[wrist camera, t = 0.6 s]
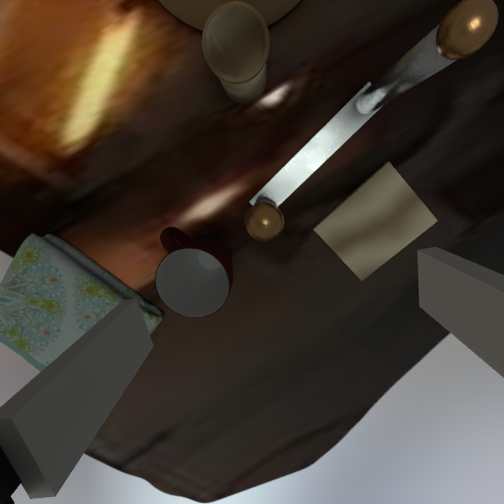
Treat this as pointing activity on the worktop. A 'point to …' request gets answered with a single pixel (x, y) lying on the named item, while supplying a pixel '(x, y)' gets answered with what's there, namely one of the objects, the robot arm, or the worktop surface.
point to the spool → (237, 49)
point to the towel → (57, 299)
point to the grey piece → (374, 105)
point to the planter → (204, 3)
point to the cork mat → (375, 222)
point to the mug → (193, 274)
